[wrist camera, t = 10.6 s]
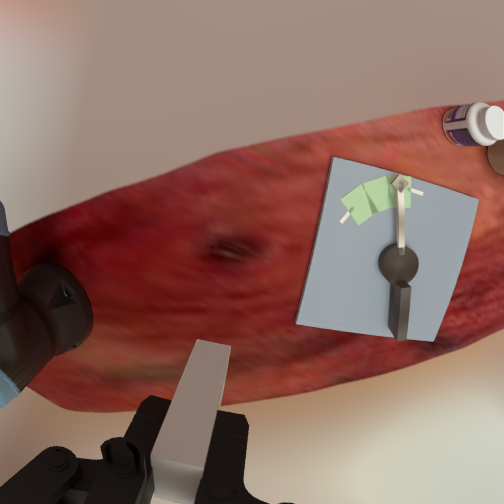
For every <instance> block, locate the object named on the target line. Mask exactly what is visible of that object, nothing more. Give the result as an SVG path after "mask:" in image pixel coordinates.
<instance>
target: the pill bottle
mask: <svg viewBox="0 0 504 504" xmlns="http://www.w3.org/2000/svg"><path fill="white" fill-rule="evenodd" d="M443 130H444V133H445V135H446V137H447V138H448V140H449V141H450V142H452V143H453V144H455V145H457V146H489V145H492V144H494V143H495V142H496V141H497V140H502V139H504V111H503V110H502V109H501V108H499V107H497V106H489V105H487V104H485V103H482V102H478V103H473V104H468V105H464V106H460V107H456V108H452V109H450V110H448V111H447V112H446V113H445V115H444V118H443Z"/></svg>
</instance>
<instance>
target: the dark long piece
mask: <svg viewBox="0 0 504 504" xmlns="http://www.w3.org/2000/svg"><path fill="white" fill-rule="evenodd" d="M390 184H391V185H392V186H393V187H394V188H395V189H396V198H397V243H394V244H391V245H389V246H387V247H386V248H385V249H384V250H383V251H382V253H381V255H380V257H379V262H378V266H379V270H380V272H381V274H382V275H383V276H384V278H385V279H386V280H387V281H388V282H389V283H391V285H390V305H389V321H388V328H389V329H390V331H391V333H392V334H393V336H394V338H395V339H396V341H403V340H407V332H408V322H409V312H410V301H411V286H410V285H409V284H408V283H409V282H410V281H411V280H412V279H413V278H414V277H415V275H416V274H417V271H418V268H419V260H418V257H417V255H416V253H415V252H414V251H413V250H412V249H410V248H409V247H407V246H406V245H405V206H404V189H405V188H406V186H407V185H408V184H409V183H408V182H407V181H406V180H405V179H404V178H403V176H402V175H401V174H398V175H397V176H396V177H395V178H394V180H393V181H392V182H391V183H390Z"/></svg>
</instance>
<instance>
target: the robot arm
mask: <svg viewBox="0 0 504 504" xmlns="http://www.w3.org/2000/svg"><path fill="white" fill-rule="evenodd" d="M9 236H10V232H9V231H8V227H7V221H6V215H5V209H4V206H3V204H2V203H1V201H0V408H2V407H5V406H6V405H7V404H8V403H9V402H10V401H11V400H13V399H14V398H15V397H17V396H18V395H19V394H20V392H21V391H22V390H23V389H24V388H25V387H26V386H27V385H28V384H29V382H30V381H31V380H32V379H33V378H34V377H35V376H36V375H37V374H38V373H39V372H40V370H41V369H42V368H43V367H44V366H45V365H46V364H47V363H48V362H49V361H50V360H51V359H52V358H53V357H55V356H57V355H60V354H63V353H65V352H67V351H71V350H73V349H75V348H77V347H79V346H80V345H81V344H82V343H83V342H84V341H85V340H86V339H87V337H88V336H89V334H90V332H91V329H92V323H93V317H92V310H91V306H90V303H89V300H88V297H87V295H86V293H85V291H84V290H83V288H82V286H81V285H80V284H79V282H78V281H77V280H76V279H75V278H74V276H73V275H72V274H70V273H69V272H68V271H67V270H65V269H64V268H62V267H60V266H58V265H56V264H53V263H40V264H38V265H36V266H34V267H32V268H30V269H29V270H27V271H26V272H25V273H24V274H23V276H22V277H21V279H20V281H19V283H18V284H17V283H16V278H15V273H14V267H13V262H12V256H11V248H10V241H9ZM230 350H231V346H228V345H223V344H218V343H213V342H208V341H203V340H198V339H197V341H196V343H195V346H194V348H193V350H192V353H191V355H190V358H189V360H188V363H187V365H186V367H185V370H184V372H183V375H182V377H181V380H180V382H179V385H178V387H177V390H176V392H175V395H174V397H173V399H172V400H168V399H164V398H160V397H156V396H153V395H150V396H149V397H148V398H146V399H145V400H144V401H142V402H141V404H140V406H139V408H138V410H137V411H136V414H135V415H134V418H133V419H132V422H131V423H130V426H129V427H128V429H127V431H126V433H125V435H124V437H116V438H111V439H109V440H107V441H105V442H104V443H103V444H102V445H101V446H100V448H101V452H102V455H103V459H100V460H91V459H83V458H76V456H75V454H74V453H72V451H70V450H69V449H67V448H65V447H60V446H53V447H49V448H47V449H45V450H43V451H42V452H41V453H40V454H39V455H37V456H36V457H35V458H34V459H33V460H32V461H30V462H29V463H28V464H27V465H26V466H25V467H23V468H22V469H21V470H20V471H19V472H17V473H16V474H15V475H14V476H13V477H12V478H10V479H9V480H8V481H7V482H6V483H4V484H3V485H2V486H1V487H0V504H150V501H151V498H152V495H153V493H154V497H157V498H160V499H164V500H168V501H172V502H176V503H180V504H269V503H266V502H264V501H261V500H259V499H257V498H255V497H253V496H252V495H251V494H250V493H248V491H247V490H246V488H245V486H244V480H243V477H244V468H245V459H246V449H247V441H248V430H249V424H248V422H247V419H246V417H245V415H243V414H236V413H231V412H225V411H220V410H219V409H220V405H221V400H222V396H223V391H224V385H225V379H226V373H227V368H228V362H229V356H230ZM280 504H294V503H280Z"/></svg>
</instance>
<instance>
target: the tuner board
mask: <svg viewBox="0 0 504 504" xmlns="http://www.w3.org/2000/svg"><path fill="white" fill-rule="evenodd" d="M397 175H398V173H395V172H391V171H388V170H384V169H380V168H377V167H373V166H369V165H365V164H361V163H357V162H353V161H349V160H345V159H341V158H336V157H331V162H330V168H329V173H328V178H327V183H326V188H325V193H324V198H323V203H322V207H321V212H320V217H319V222H318V226H317V231H316V235H315V240H314V244H313V249H312V253H311V257H310V262H309V266H308V270H307V274H306V279H305V283H304V287H303V291H302V295H301V299H300V303H299V307H298V311H297V315H296V324H300V325H306V326H312V327H319V328H326V329H333V330H340V331H347V332H354V333H362V334H370V335H378V336H386V337H394V336H393V334H392V333H391V331H390V329H389V328H388V321H389V305H390V285H391V283H389V282H388V281H387V280H386V279H385V278H384V276H383V275H382V274H381V272H380V270H379V266H378V262H379V257H380V255H381V253H382V251H383V250H384V249H385V248H386V247H387V246H389V245H391V244H394V243H397V198H396V189H395V188H394V187H393V186H392V185H391V184H390V183H391V182H392V181H393V180H394V178H395V177H396V176H397ZM401 175H402V174H401ZM402 176H403V178H404V179H405V180H406V181H407V182H408V183H409V184H408V185H407V186H406V188H405V189H404V206H405V245H406V246H407V247H409V248H410V249H412V250H413V251H414V252H415V253H416V255H417V257H418V260H419V268H418V271H417V274H416V275H415V277H414V278H413V279H412V280H411V281H410V282H409V283H408V284H409V285H410V286H411V301H410V312H409V322H408V332H407V339H413V340H423V341H434V339H435V337H436V334H437V332H438V330H439V327H440V325H441V322H442V320H443V317H444V315H445V312H446V309H447V307H448V304H449V301H450V299H451V296H452V293H453V290H454V287H455V284H456V282H457V279H458V275H459V272H460V269H461V266H462V263H463V260H464V256H465V253H466V249H467V246H468V242H469V239H470V235H471V231H472V227H473V223H474V219H475V215H476V211H477V206H478V202H479V200H478V199H476V198H473V197H470V196H467V195H465V194H462V193H459V192H456V191H453V190H450V189H447V188H444V187H441V186H438V185H435V184H432V183H428V182H425V181H422V180H419V179H415V178H412V177H411V176H405V175H402Z"/></svg>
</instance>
